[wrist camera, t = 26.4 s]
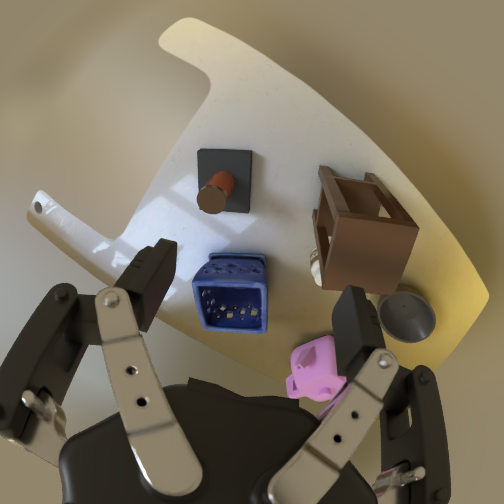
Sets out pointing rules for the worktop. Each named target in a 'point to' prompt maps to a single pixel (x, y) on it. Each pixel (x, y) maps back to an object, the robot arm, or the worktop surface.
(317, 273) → the pill bottle
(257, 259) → the flower pot
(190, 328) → the worktop surface
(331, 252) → the stand
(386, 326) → the bowl
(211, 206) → the spice jar
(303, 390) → the teapot
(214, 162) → the pad
